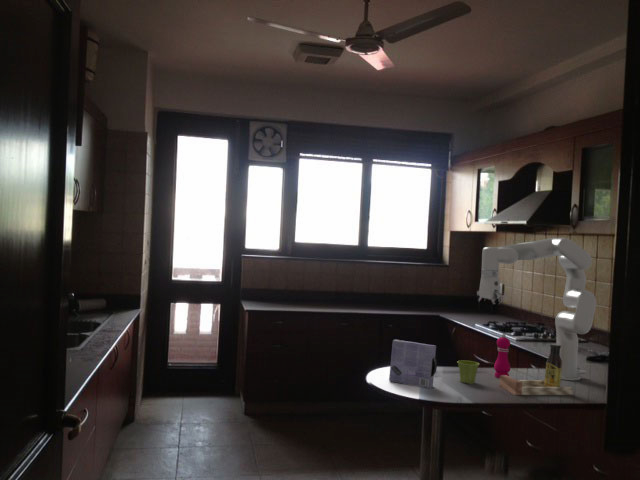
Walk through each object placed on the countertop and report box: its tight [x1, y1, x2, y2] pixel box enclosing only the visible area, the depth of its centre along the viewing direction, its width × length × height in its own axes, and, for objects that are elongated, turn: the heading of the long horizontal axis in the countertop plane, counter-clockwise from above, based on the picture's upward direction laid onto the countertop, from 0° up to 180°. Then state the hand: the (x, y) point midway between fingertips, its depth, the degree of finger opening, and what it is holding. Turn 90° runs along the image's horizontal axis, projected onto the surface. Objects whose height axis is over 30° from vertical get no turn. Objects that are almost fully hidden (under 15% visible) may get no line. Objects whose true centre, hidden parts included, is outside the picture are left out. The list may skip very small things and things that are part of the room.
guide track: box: [499, 375, 573, 396], centre depth 235 cm, size 26×12×5 cm, turn 101°
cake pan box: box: [388, 339, 438, 389], centre depth 235 cm, size 19×5×18 cm, turn 64°
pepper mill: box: [493, 333, 511, 379], centre depth 258 cm, size 7×7×20 cm
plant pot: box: [456, 360, 480, 385], centre depth 244 cm, size 9×9×9 cm
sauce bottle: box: [544, 343, 562, 387], centre depth 236 cm, size 7×6×20 cm
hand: (488, 311), depth 254 cm, fingers open, 9 cm apart
